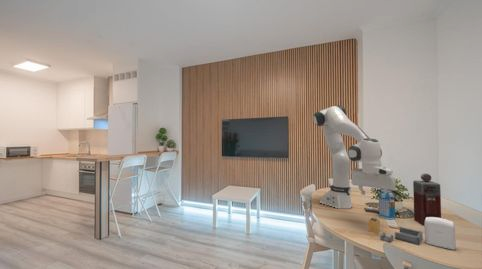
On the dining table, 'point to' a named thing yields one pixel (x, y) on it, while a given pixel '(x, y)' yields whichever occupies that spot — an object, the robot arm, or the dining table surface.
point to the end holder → (409, 235)
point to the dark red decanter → (426, 199)
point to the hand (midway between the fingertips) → (372, 195)
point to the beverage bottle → (387, 205)
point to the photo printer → (440, 232)
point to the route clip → (386, 238)
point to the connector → (374, 225)
